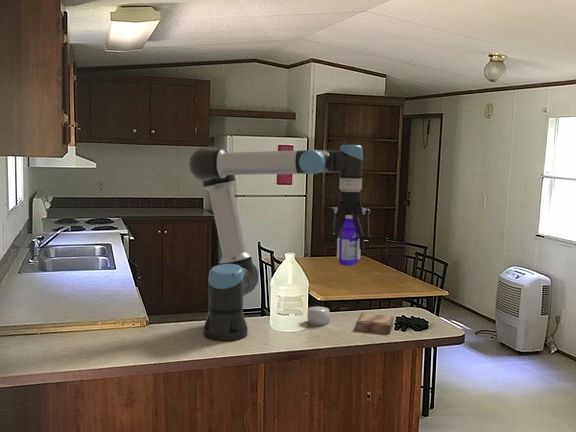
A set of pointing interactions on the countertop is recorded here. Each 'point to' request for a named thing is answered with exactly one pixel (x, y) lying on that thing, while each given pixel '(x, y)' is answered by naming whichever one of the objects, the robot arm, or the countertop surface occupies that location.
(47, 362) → the countertop surface
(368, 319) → the base
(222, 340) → the robot arm
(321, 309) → the grey rounded block
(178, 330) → the countertop surface
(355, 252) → the bottle
